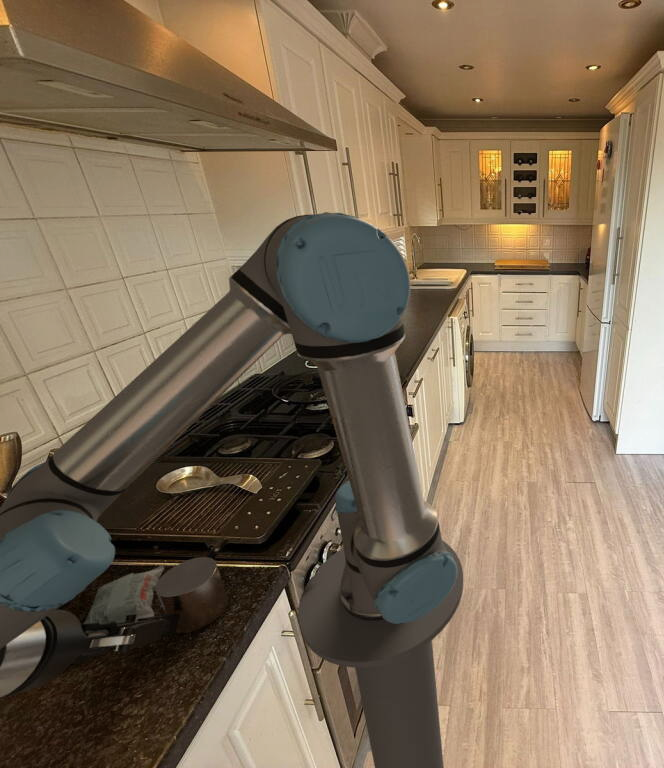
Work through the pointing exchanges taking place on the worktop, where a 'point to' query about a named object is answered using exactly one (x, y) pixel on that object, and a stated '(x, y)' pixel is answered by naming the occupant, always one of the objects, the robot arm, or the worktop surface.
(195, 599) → the saucepan
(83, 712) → the worktop surface
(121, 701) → the worktop surface
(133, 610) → the packaged food
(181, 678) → the worktop surface
